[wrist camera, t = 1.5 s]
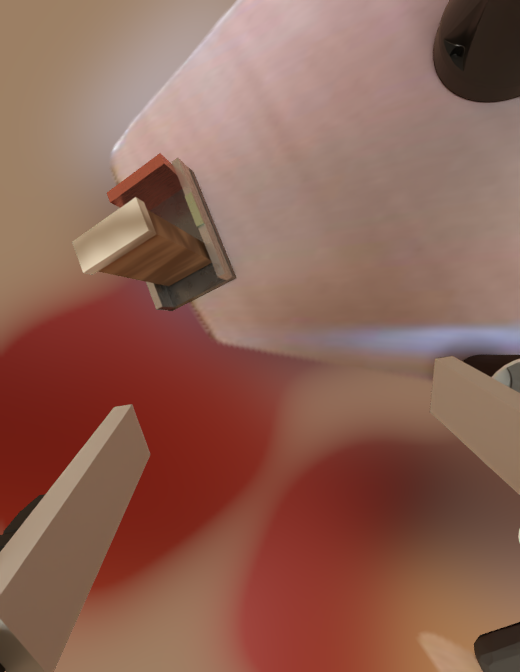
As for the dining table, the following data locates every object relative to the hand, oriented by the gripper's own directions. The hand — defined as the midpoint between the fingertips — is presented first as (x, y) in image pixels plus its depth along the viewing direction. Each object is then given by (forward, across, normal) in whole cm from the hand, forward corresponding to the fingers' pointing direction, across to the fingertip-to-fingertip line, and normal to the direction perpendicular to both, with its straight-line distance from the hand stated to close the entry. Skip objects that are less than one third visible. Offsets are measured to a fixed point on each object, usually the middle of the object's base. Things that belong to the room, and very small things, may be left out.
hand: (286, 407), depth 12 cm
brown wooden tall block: (+35, -11, +5) cm, 37 cm away
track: (+38, -11, +8) cm, 40 cm away
